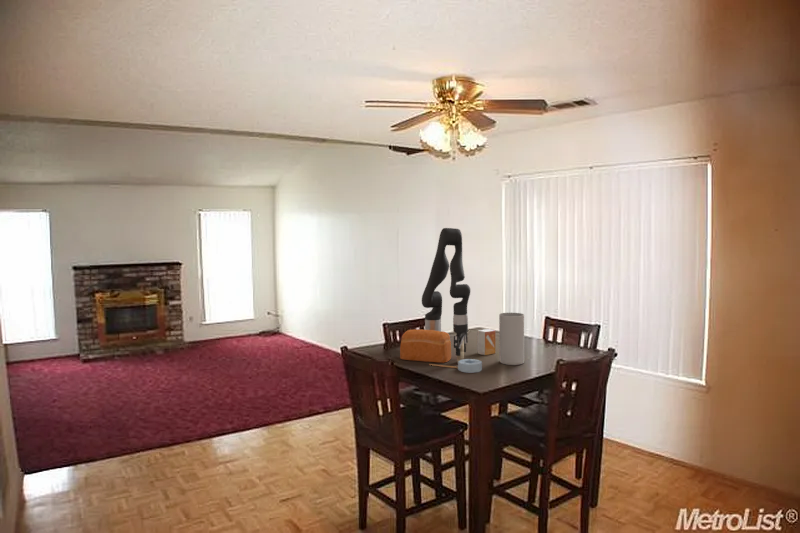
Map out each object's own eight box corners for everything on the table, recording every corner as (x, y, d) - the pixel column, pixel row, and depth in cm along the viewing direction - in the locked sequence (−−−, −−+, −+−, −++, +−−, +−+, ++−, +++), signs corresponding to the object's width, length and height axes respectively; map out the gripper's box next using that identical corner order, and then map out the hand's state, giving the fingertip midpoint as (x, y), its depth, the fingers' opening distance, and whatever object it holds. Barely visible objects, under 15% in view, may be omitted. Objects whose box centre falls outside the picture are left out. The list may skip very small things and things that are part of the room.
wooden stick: (428, 365, 279) (428, 363, 279) (429, 365, 280) (429, 363, 280) (459, 368, 272) (459, 367, 272) (460, 368, 272) (460, 366, 272)
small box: (484, 355, 298) (484, 332, 297) (477, 353, 304) (477, 330, 303) (495, 353, 303) (495, 330, 302) (488, 351, 308) (487, 328, 307)
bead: (455, 371, 267) (455, 363, 267) (463, 365, 277) (463, 358, 277) (477, 373, 263) (476, 365, 262) (484, 368, 272) (484, 360, 272)
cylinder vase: (527, 365, 277) (527, 316, 275) (503, 365, 276) (502, 316, 274) (520, 359, 289) (520, 312, 288) (496, 359, 288) (496, 312, 287)
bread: (445, 364, 282) (444, 333, 281) (398, 360, 292) (397, 330, 291) (453, 358, 294) (452, 329, 293) (407, 354, 305) (407, 326, 303)
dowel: (456, 363, 283) (455, 340, 282) (458, 361, 286) (458, 339, 285) (462, 363, 281) (462, 340, 280) (465, 362, 284) (464, 339, 284)
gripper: (458, 320, 290) (458, 350, 291) (448, 324, 277) (449, 356, 278) (471, 321, 287) (472, 351, 288) (462, 325, 274) (463, 357, 275)
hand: (460, 353), depth 283 cm, fingers open, 8 cm apart
